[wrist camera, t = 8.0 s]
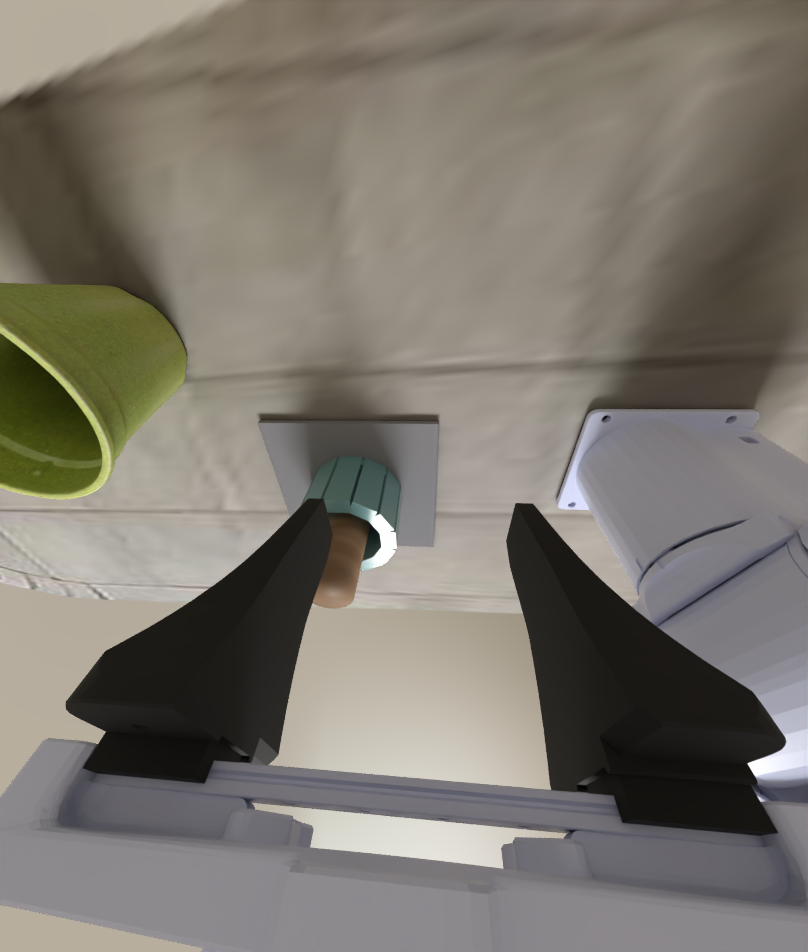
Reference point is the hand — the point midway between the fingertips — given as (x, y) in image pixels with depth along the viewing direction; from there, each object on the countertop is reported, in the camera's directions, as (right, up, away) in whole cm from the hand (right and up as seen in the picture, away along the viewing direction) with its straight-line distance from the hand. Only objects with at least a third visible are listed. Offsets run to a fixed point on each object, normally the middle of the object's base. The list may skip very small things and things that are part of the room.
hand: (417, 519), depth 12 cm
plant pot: (-16, +10, +7) cm, 20 cm away
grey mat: (-4, +1, +12) cm, 13 cm away
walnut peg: (-4, 0, +12) cm, 12 cm away
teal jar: (-4, 0, +12) cm, 13 cm away
